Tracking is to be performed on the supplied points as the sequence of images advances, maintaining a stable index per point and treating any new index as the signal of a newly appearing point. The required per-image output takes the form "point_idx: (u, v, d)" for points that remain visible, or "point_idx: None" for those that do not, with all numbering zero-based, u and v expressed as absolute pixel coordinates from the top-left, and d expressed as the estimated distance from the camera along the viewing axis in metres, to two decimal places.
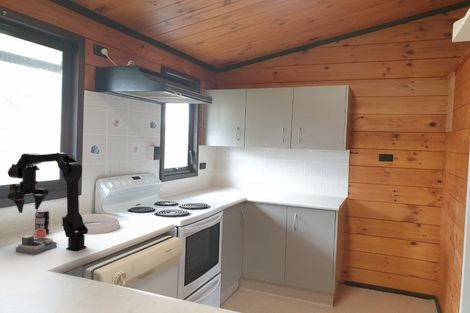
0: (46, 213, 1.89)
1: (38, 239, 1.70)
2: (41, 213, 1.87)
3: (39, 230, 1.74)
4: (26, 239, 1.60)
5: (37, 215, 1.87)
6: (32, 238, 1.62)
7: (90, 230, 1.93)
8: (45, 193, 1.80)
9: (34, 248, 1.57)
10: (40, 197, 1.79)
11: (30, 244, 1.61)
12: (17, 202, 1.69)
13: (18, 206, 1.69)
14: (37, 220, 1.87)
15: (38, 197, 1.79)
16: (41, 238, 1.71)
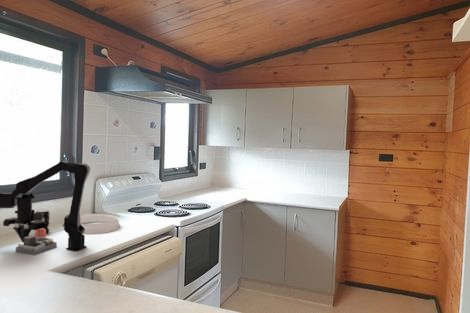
0: (46, 213, 1.89)
1: (38, 239, 1.70)
2: (41, 213, 1.87)
3: (39, 230, 1.74)
4: (28, 239, 1.59)
5: None
6: (34, 238, 1.62)
7: (90, 230, 1.93)
8: (30, 228, 1.57)
9: (34, 248, 1.57)
10: None
11: (32, 244, 1.61)
12: None
13: None
14: (37, 220, 1.87)
15: None
16: (41, 238, 1.71)
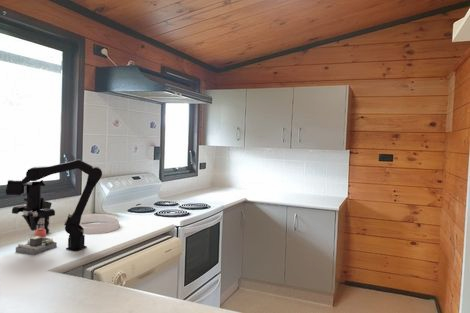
0: None
1: None
2: None
3: (39, 230, 1.74)
4: (34, 240, 1.58)
5: None
6: (40, 239, 1.61)
7: (90, 230, 1.93)
8: (40, 215, 1.55)
9: (34, 248, 1.57)
10: None
11: (38, 245, 1.60)
12: None
13: None
14: None
15: None
16: None
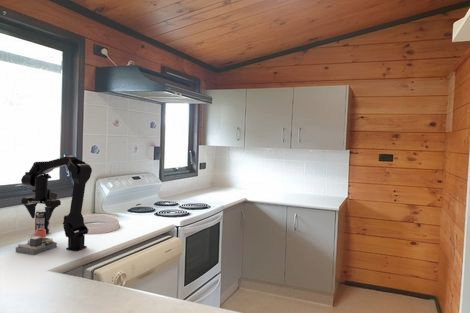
0: None
1: None
2: (41, 213, 1.87)
3: (39, 230, 1.74)
4: (34, 240, 1.58)
5: (37, 215, 1.87)
6: (40, 239, 1.61)
7: (90, 230, 1.93)
8: (47, 205, 1.70)
9: (34, 248, 1.57)
10: None
11: (38, 245, 1.60)
12: None
13: None
14: (37, 220, 1.87)
15: None
16: None
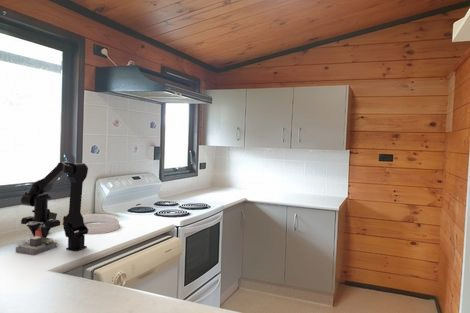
0: None
1: None
2: None
3: (39, 230, 1.74)
4: (34, 240, 1.58)
5: None
6: (40, 239, 1.61)
7: (90, 230, 1.93)
8: (47, 225, 1.71)
9: (34, 248, 1.57)
10: None
11: (38, 245, 1.60)
12: None
13: None
14: None
15: None
16: None
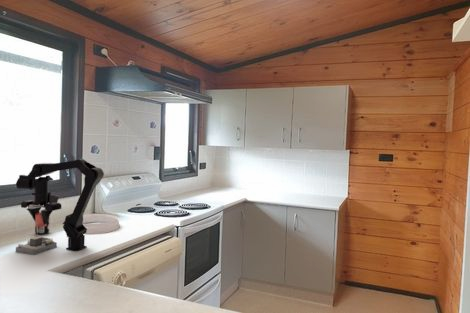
0: None
1: None
2: None
3: (39, 214, 1.66)
4: (34, 240, 1.58)
5: None
6: (40, 239, 1.61)
7: (90, 230, 1.93)
8: (47, 208, 1.62)
9: (34, 248, 1.57)
10: None
11: (38, 245, 1.60)
12: None
13: None
14: None
15: None
16: None
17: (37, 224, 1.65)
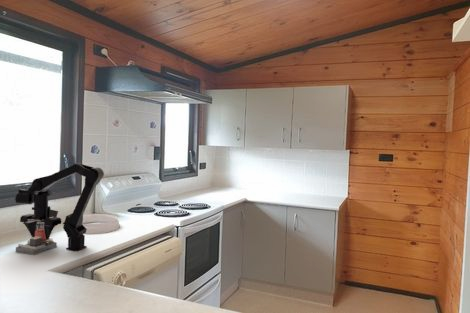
0: None
1: None
2: None
3: (39, 231, 1.65)
4: (34, 240, 1.58)
5: None
6: (40, 239, 1.61)
7: (90, 230, 1.93)
8: (47, 224, 1.62)
9: (34, 248, 1.57)
10: None
11: (38, 245, 1.60)
12: None
13: None
14: None
15: None
16: None
17: None
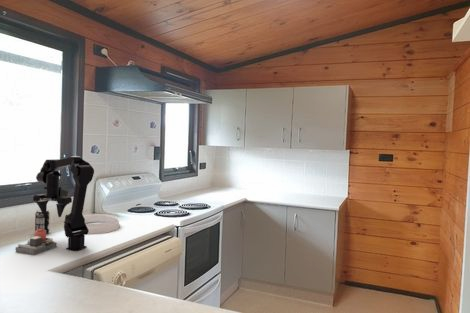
0: (46, 213, 1.89)
1: None
2: (41, 213, 1.87)
3: (39, 231, 1.66)
4: (34, 240, 1.58)
5: (37, 215, 1.87)
6: (40, 239, 1.61)
7: (90, 230, 1.93)
8: (59, 202, 1.73)
9: (34, 248, 1.57)
10: None
11: (38, 245, 1.60)
12: None
13: None
14: (37, 220, 1.87)
15: None
16: None
17: None
